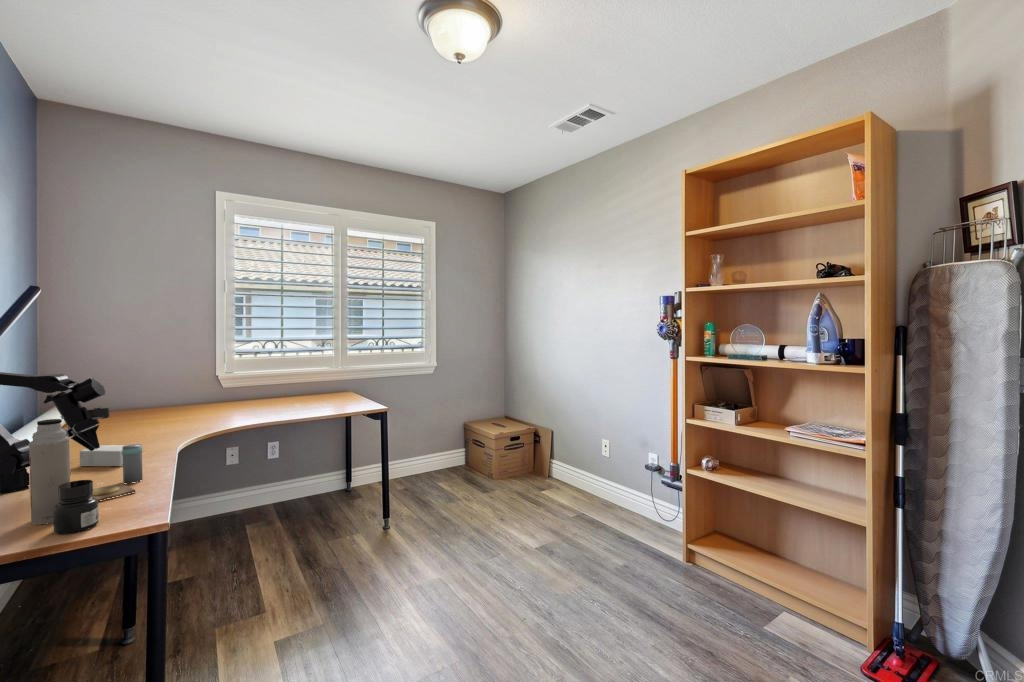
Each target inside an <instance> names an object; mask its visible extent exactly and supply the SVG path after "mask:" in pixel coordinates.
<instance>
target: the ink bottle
mask: <svg viewBox="0 0 1024 682" xmlns="http://www.w3.org/2000/svg"><path fill="white" fill-rule="evenodd" d="M93 489H94V482H93V480H91V479H80V480H73V481H70V482H68V483H65V484H62V485H60V486H59V487H58V498H59V501H60V502H59V503H58V504H57V505H56V506H55V507H54V509H53V520H54V523H53V532H54V533H55V534H56V535H68V534H69V535H70V534H75V532H76V533H79V531H80V532H84V531H87V530H89V529H88V528H90V529H92V528H94V527H95V526H97V525H98V524H99V518H100V517H99V502H98V500H97V499H96V498H94V497H93V496H92V494H93ZM97 523H98V524H97ZM96 524H97V525H96ZM93 526H94V527H93ZM91 527H92V528H91ZM86 529H87V530H86ZM83 530H84V531H83Z"/></svg>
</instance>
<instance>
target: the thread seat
mask: <svg viewBox="0 0 1024 682" xmlns="http://www.w3.org/2000/svg"><path fill="white" fill-rule="evenodd" d="M132 492H135V493H136V489H134V488H132V487H130V486H128V485H127V484H124V483H123V482H118V483H115V484H111V485H110V484H109V485H106V486H102V487H96V488H93V494H92V496H93V497H94V498H96V499H97V500H98V501H100V500H104V499H107V498H112V497H116V496H120V495H124V494H128V493H132Z"/></svg>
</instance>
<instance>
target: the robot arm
mask: <svg viewBox="0 0 1024 682" xmlns="http://www.w3.org/2000/svg"><path fill="white" fill-rule="evenodd" d="M0 386H9V387H18V388H19V387H22V388H29V389H31V390H34V391H36V392H41V393H46V394H47V395H46V398H45V399H44V401H43V404H45V405H46V404H50V403H53V405H54V406H55V408H56V409H57V411H58V413H59V414H60V418H61V419H62V420H63V421H64V423H65V424H66V426H67V427H66V428H67V429H66V430H65V431H66V432H67V433H66V434H67V435H66V437H68V438H69V440H72V441H74V442H76V443H77V444H78V445H81V446H82V447H84V449H88V450H90V451H93V450H95V449H98V448H100V445H101V444H100V442H99V438H98V434H97V430H98V429H99V427H100V425H99V424H100V421H99V420H98V419H103V420H104V419H108V418H110V417H111V416H110V408H109V407H104V408H101V407H97V408H96V407H94V408H93V409H87V407H86V406H82V404H81V403H84V404H85V403H88V402H91V401H93V400H95V399H98V398H100V397H102V396H104V395H106V389H105V387H104V385H103V384H101V383H100V382H99V381H97V380H96V379H95V378H94V377H90V378H87V379H86V380H84V381H81V382H77V381H75V380H72V379H70V377H68V376H67V374H64V373H54V374H53V373H52V374H36V375H35V374H24V373H14V372H2V371H0ZM67 391H69V392H67ZM56 392H58V393H56ZM53 393H56V394H53ZM30 442H31V441H30V440H29V439H27V438H24V439H22V440H20V439H18V438H16V437H14V436H13V435H12V434H11V433H10V432H9V431H8V430H7V429H6V428H5V426H3V424H1V423H0V495H3V494H2V493H4V494H7V492H8V493H13V492H18V491H21V490H27V489H29V488H30V472H28V469H27V468H30V456H29V443H30Z"/></svg>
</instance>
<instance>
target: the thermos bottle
mask: <svg viewBox="0 0 1024 682" xmlns="http://www.w3.org/2000/svg"><path fill="white" fill-rule="evenodd" d="M62 422H63V419H62V418H61V419H60V418H50V419H42V420H38V421H36V425H37V426H36V431H35V432H33V433H32V436H31V439H32V440H31V441H30V443H29V456H30V467H29V479H30V485H29V488H30V489H29V492H30V523H31V524H32V523H33V524H45V525H48V524H47V523H51V524H54V520H53V509H54V507H55V506H56V505H57V504H58V503H59V502H60V501H59V498H58V487H59V486H60V485H62V484H65V483H68V482H71V458H70V457H71V454H70V453H71V451H70V448H71V447H70V444H71V443H70V437H68V436H67V434H66V433H67V432H66V431H67V430H66V429H63V428H62V424H61V423H62ZM33 524H32V525H33Z"/></svg>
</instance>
